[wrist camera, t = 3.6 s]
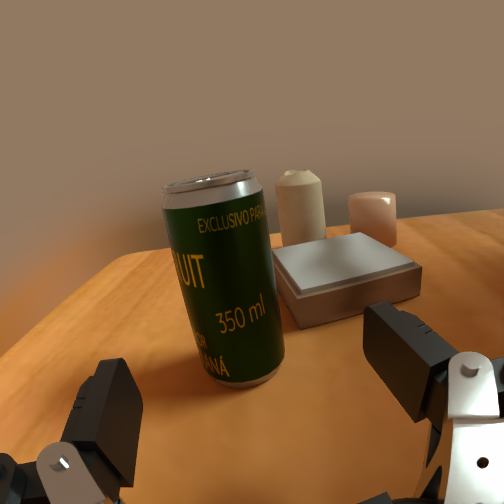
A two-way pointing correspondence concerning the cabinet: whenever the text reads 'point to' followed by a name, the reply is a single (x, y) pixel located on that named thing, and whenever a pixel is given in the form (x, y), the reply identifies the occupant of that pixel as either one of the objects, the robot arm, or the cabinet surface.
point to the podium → (342, 277)
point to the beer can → (227, 274)
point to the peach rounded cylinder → (374, 216)
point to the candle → (300, 208)
